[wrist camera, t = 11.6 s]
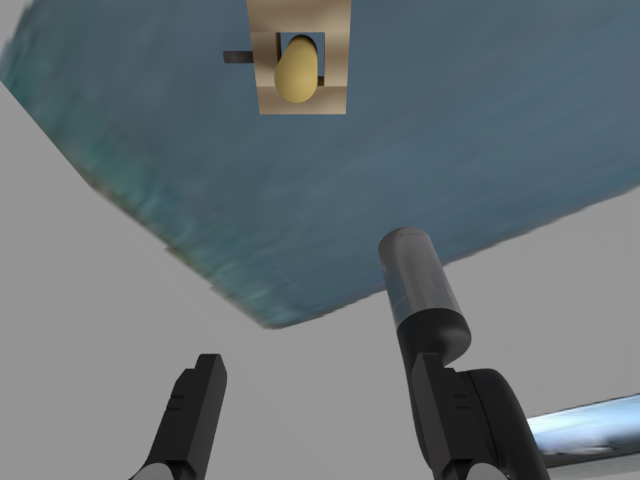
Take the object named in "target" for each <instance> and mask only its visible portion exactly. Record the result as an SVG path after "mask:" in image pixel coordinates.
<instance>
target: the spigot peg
mask: <svg viewBox="0 0 640 480" xmlns="http://www.w3.org/2000/svg"><path fill="white" fill-rule="evenodd" d="M317 61H318V52H317V46H316V44H315V42H314V40H313V39H312V38H311V37H309V36H307V35H304V34H299V35H296V36H294V37H293V38H292V39H291V40H290V42H289V44H288V45H287V47H286V49H285V51H284V53H283V55H282V57H281V59H280V61H279V63H278V65H277V67H276V69H275V73H274V83H275V87H276V89H277V91H278V93H279V94H280V95H281V96H282V97H283V98H284V99H286V100H287V101H290V102H293V103H300V102H304V101H306V100H308V99H309V98H310V97H311V96H312V95H313V94H314V92H315V90H316V87H317Z"/></svg>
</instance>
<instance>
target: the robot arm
mask: <svg viewBox="0 0 640 480" xmlns="http://www.w3.org/2000/svg"><path fill="white" fill-rule="evenodd" d="M378 252H379V257H380V262H381V266H382V271H383V276H384V280H385V285H386V289H387V294H388V298H389V303H390V307H391V312H392V316H393V320H394V325H395V329H396V333H397V338H398V342H399V346H400V350H401V354H402V358H403V363H404V368H405V372H406V378H407V384H408V390H409V396H410V402H411V409H412V415H413V421H414V426H415V431H416V436H417V439H418V443H419V447H420V450H421V452H422V455H423V457H424V460H425V461H426V463H427V465H428V466H429V468H430V469H431V470H432V473H433V477H434V480H551V479H550V476H549V474H548V471H547V469H546V466H545V464H544V461H543V459H542V456H541V454H540V451H539V449H538V446H537V444H536V441H535V438H534V436H533V434H532V431H531V429H530V426H529V424H528V422H527V419H526V417H525V414H524V412H523V410H522V407H521V405H520V403H519V401H518V399H517V397H516V395H515V393H514V392H513V390H512V388H511V387H510V385H509V383H508V382H507V380H506V379H505V378H504V377H503V376H502V375H501V374H500V373H499V372H498V371H496V370H494V369H491V368H482V369H473V370H466V371H460V372H456V371H455V370H454V368H444V367H445V366H446V365H448V364H450V363H451V362H453V361H455V360H456V359H458V358H459V357H461V356H462V355H463V354H464V353H465V352H466V351H467V350H468V348H469V347H470V345H471V341H472V337H471V332H470V329H469V326H468V324H467V322H466V320H465V318H464V315H463V313H462V311H461V309H460V306H459V304H458V302H457V300H456V297H455V295H454V293H453V290H452V288H451V286H450V284H449V281H448V279H447V277H446V274H445V272H444V270H443V267H442V265H441V263H440V261H439V258H438V256H437V254H436V251H435V249H434V247H433V244H432V242H431V240H430V237H429V236H428V234H427V233H426V232H425V231H423V230H421V229H419V228H416V227H402V228H398V229H395V230H393V231H391V232H389V233H388V234H387V235H385V236H384V237H383V239H382V240H381V241H380V244H379V247H378ZM226 386H227V371H226V368H225V366H224V363H223V360H222V357H221V355H220V354H200V355H199V357H198V359H197V362H196V365H195V368H186V369H185V370H184V371H183V372H182V374H181V375H180V376H179V378H178V379H177V380H176V382H175V384H174V387H173V390H172V392H171V395H170V399H169V401H168V403H167V406H166V410H165V411H164V414H163V417H162V420H161V422H160V425H159V428H158V430H157V434H156V436H155V439H154V441H153V444H152V447H151V450H150V452H149V455H148V457H147V459H146V461H145V463H144V464H143V466H142V467H141V468H140V469H139V471H138V472H137V473H136V474H135V475H133V476H132V477H131V478H130V479H128V480H205V476H206V471H207V467H208V462H209V458H210V454H211V450H212V446H213V441H214V437H215V433H216V429H217V424H218V420H219V416H220V412H221V407H222V403H223V399H224V395H225V391H226ZM501 470H505V471H506V472H507V473H508V475H509V477H508V476H506V475H505V474H504V473H503V472H502V471H501Z"/></svg>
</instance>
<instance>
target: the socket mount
mask: <svg viewBox="0 0 640 480" xmlns="http://www.w3.org/2000/svg"><path fill="white" fill-rule="evenodd" d="M246 1H247V9H248V18H249V26H250V35H251V43H252V51H223V58H224V62H225V63H254V69H255V78H256V86H257V95H258V103H259V112H260V114H346V97H347V77H348V57H349V37H350V18H351V0H246ZM280 32H324V76H317V87H316V90H315V92H314V94H313V95H312V96H311V97H310V98H309V99H308V100H306V101H304V102H300V103H293V102H290V101H287V100H286V99H284V98H283V97H282V96H281V95H280V94H279V93H278V91H277V89H276V87H275V83H274V73H275V69H276V67H277V65H278V63H279V61H280V59H281V57H282V51H281V36H280Z"/></svg>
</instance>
